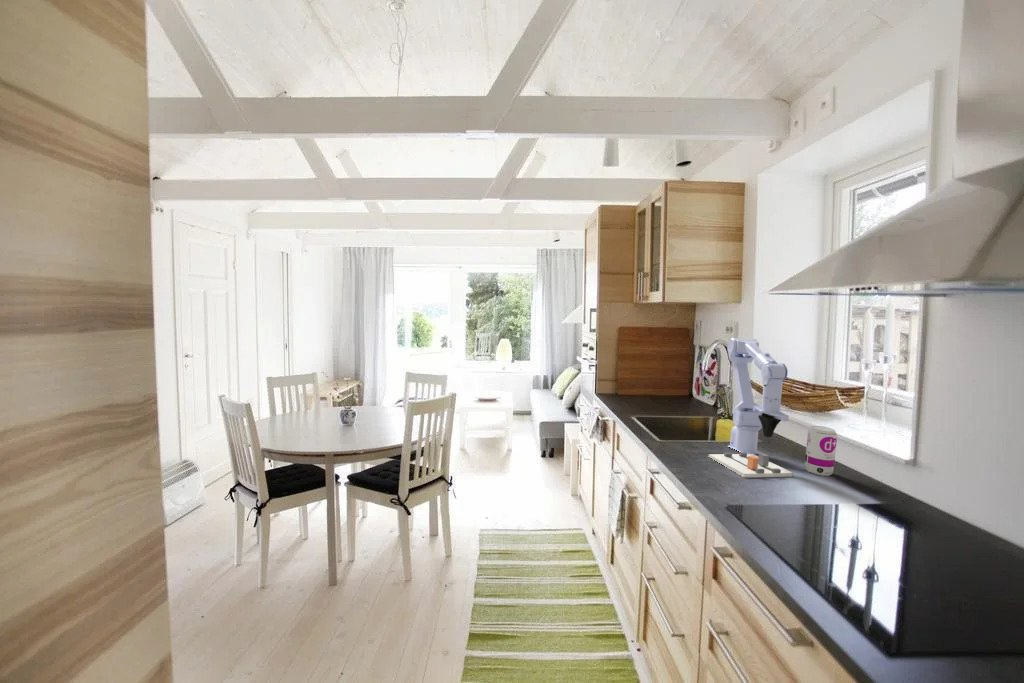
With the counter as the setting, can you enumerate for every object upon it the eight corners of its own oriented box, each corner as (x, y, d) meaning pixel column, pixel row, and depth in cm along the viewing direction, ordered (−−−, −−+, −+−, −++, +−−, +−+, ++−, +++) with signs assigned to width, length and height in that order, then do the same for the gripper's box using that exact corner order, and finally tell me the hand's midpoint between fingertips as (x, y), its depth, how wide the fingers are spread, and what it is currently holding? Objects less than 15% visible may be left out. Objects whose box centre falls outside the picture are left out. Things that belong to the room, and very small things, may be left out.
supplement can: (838, 477, 154) (843, 432, 153) (813, 475, 154) (818, 431, 153) (822, 468, 162) (827, 426, 161) (798, 467, 162) (803, 424, 161)
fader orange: (747, 466, 155) (748, 455, 155) (752, 466, 155) (753, 455, 155) (752, 469, 153) (753, 458, 152) (757, 469, 153) (758, 458, 153)
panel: (708, 457, 168) (708, 451, 167) (752, 457, 171) (753, 450, 171) (743, 477, 149) (744, 470, 149) (792, 476, 152) (793, 469, 152)
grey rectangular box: (757, 463, 158) (758, 453, 158) (763, 463, 159) (764, 453, 159) (762, 466, 156) (763, 455, 156) (768, 466, 157) (769, 455, 156)
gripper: (747, 393, 168) (743, 430, 169) (776, 402, 154) (772, 442, 155) (764, 393, 169) (760, 430, 170) (795, 402, 155) (791, 442, 156)
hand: (767, 436), depth 163 cm, fingers closed
